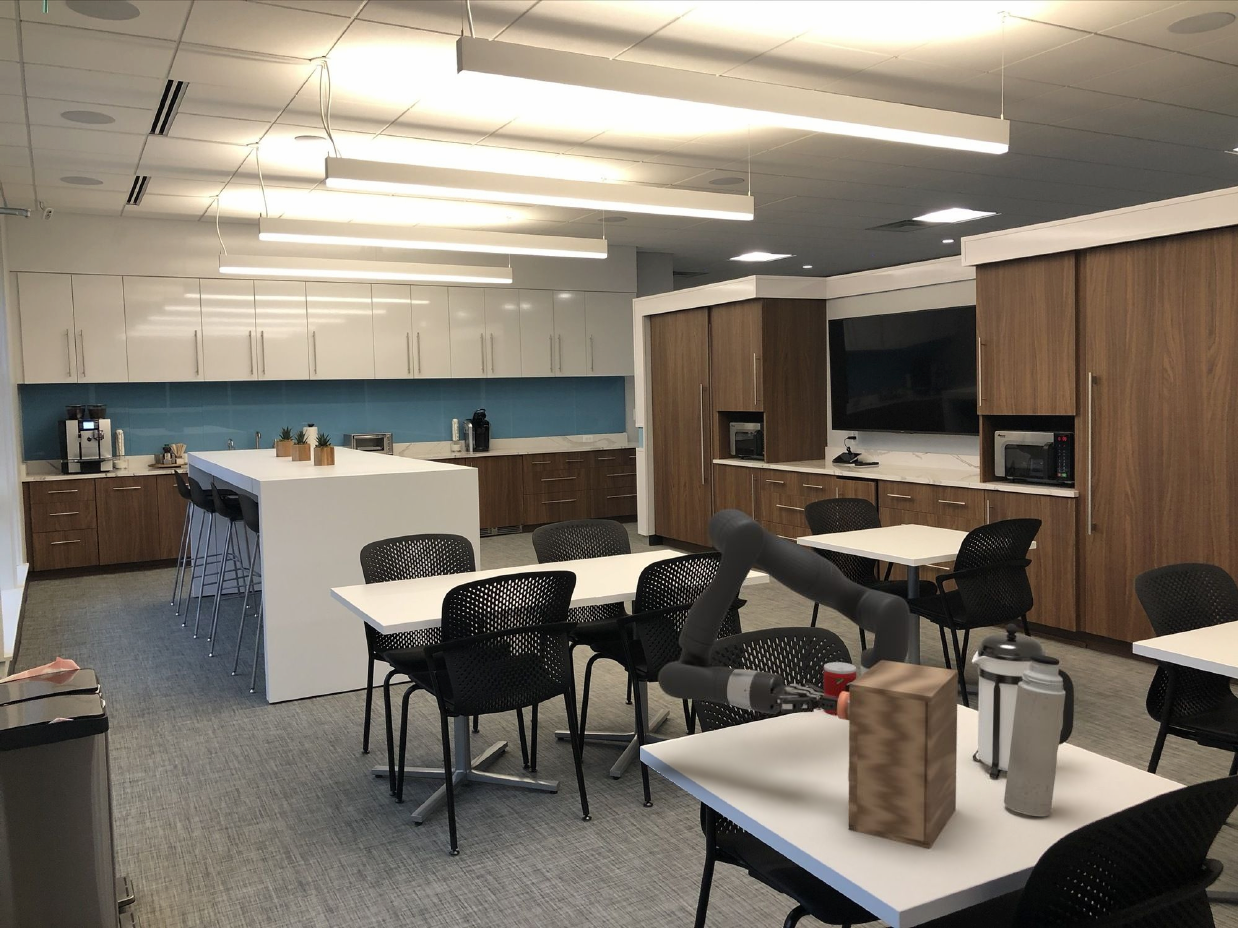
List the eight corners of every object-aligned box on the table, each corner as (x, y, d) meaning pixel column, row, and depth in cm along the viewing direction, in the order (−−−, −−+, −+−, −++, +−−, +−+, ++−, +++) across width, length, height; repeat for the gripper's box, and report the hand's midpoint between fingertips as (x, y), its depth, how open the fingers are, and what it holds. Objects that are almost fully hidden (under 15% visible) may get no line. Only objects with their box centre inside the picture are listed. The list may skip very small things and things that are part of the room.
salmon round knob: (836, 722, 176) (837, 695, 176) (846, 714, 181) (846, 688, 180) (911, 735, 169) (911, 707, 169) (919, 727, 173) (919, 699, 173)
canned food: (838, 718, 228) (838, 672, 228) (816, 708, 235) (816, 664, 235) (863, 713, 232) (863, 668, 231) (841, 704, 239) (841, 660, 238)
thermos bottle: (1039, 801, 181) (1057, 653, 180) (1058, 818, 173) (1077, 664, 172) (996, 796, 181) (1014, 649, 180) (1014, 813, 173) (1033, 659, 172)
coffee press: (1031, 791, 185) (1034, 637, 183) (955, 767, 197) (957, 622, 195) (1073, 769, 196) (1077, 623, 194) (999, 747, 208) (1002, 610, 206)
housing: (848, 829, 170) (849, 683, 168) (880, 793, 185) (881, 659, 183) (929, 848, 162) (931, 696, 160) (955, 809, 177) (957, 670, 175)
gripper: (740, 680, 182) (829, 694, 173) (769, 663, 193) (854, 676, 184) (740, 719, 182) (828, 735, 173) (769, 700, 194) (853, 715, 184)
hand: (841, 705), depth 178 cm, fingers closed
